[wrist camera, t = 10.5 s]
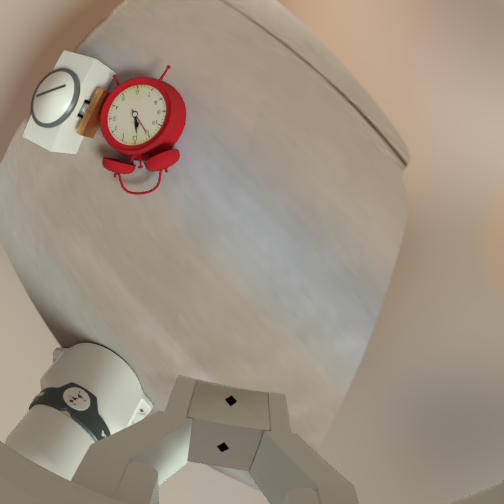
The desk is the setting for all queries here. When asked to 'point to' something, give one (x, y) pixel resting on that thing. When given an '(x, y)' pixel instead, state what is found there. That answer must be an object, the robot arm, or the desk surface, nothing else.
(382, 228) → the desk surface
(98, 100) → the wooden handled metal scraper
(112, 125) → the alarm clock
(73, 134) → the dial gauge
